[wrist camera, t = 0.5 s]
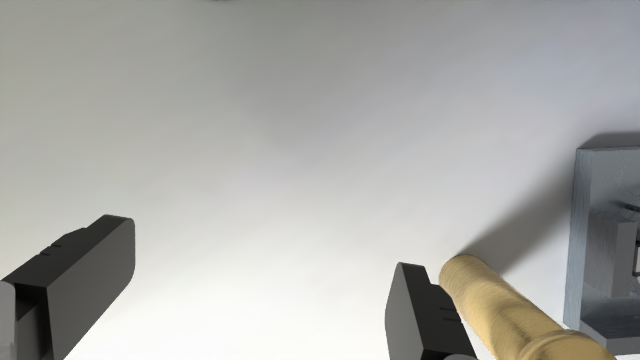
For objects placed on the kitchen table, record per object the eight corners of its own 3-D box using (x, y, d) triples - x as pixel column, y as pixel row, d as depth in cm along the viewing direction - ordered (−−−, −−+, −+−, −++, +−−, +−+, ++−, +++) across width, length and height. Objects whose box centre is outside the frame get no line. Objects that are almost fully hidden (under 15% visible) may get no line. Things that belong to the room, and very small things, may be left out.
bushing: (432, 250, 34) (524, 346, 21) (495, 246, 35) (628, 338, 21) (431, 309, 35) (519, 439, 22) (492, 305, 36) (617, 430, 22)
